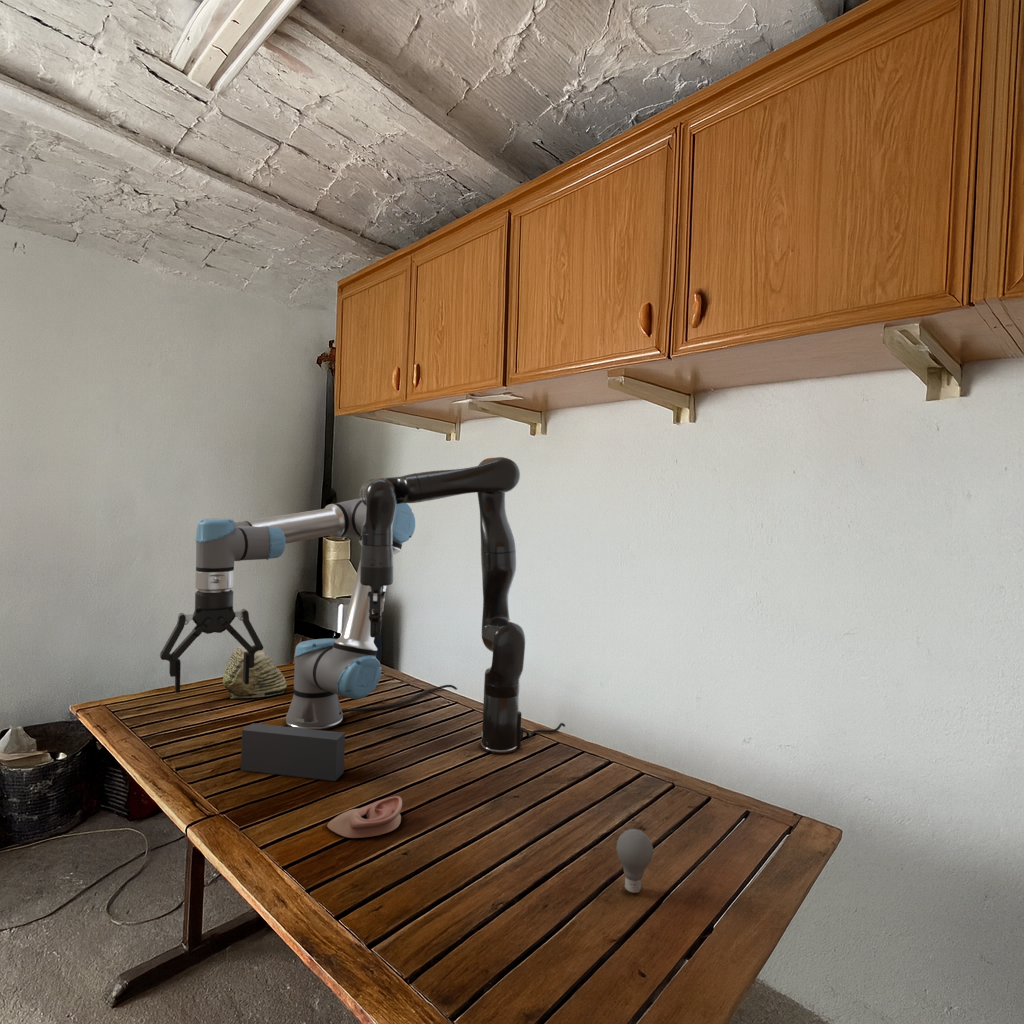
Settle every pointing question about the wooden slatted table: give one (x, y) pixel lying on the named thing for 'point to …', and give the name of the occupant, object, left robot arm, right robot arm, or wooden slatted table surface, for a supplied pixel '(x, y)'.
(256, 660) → the fossil
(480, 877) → the wooden slatted table surface
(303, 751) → the bar
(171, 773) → the wooden slatted table surface
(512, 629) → the right robot arm
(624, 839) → the light bulb
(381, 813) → the anatomical model
